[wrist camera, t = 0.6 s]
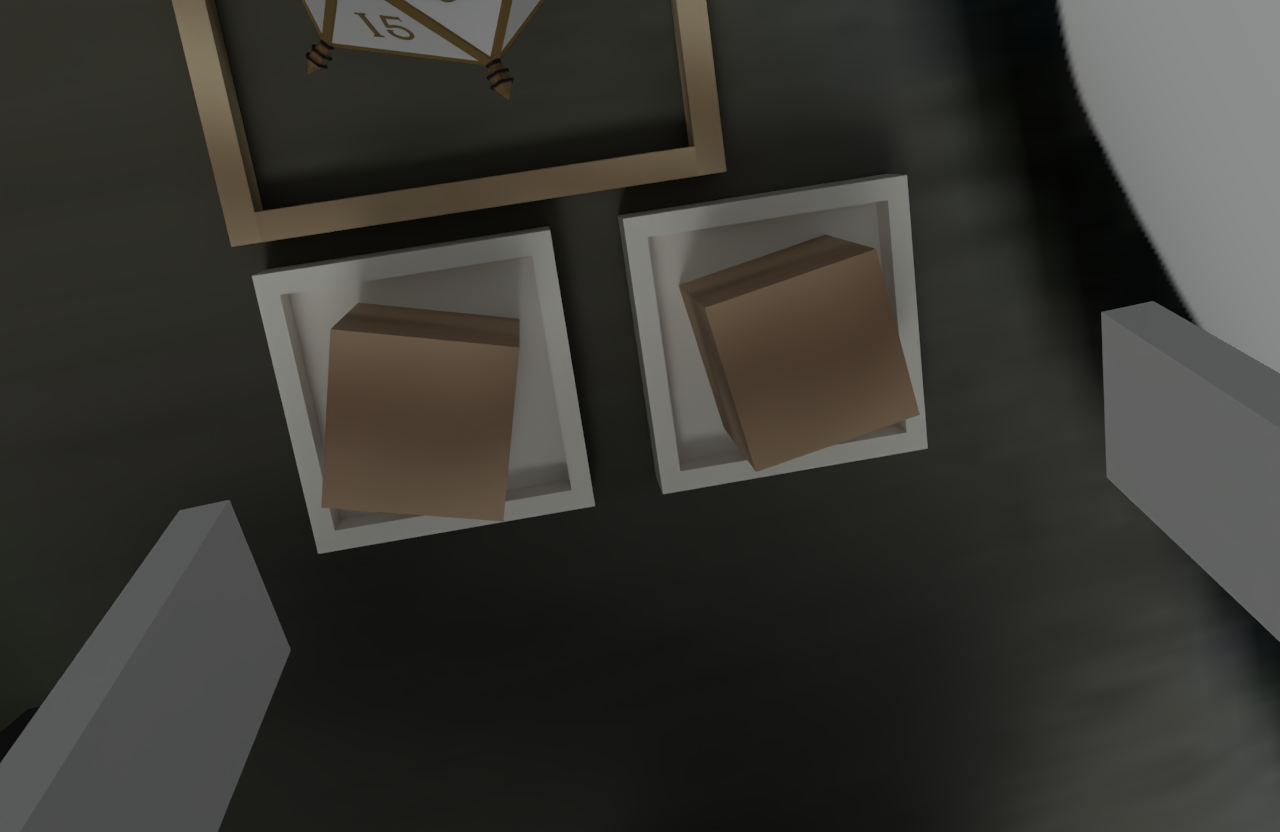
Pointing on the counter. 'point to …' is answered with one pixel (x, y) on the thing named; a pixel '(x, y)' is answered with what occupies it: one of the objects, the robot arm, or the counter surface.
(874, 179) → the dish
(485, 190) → the oak frame
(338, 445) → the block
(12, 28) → the counter surface
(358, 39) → the game die
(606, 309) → the counter surface
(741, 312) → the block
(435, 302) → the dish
